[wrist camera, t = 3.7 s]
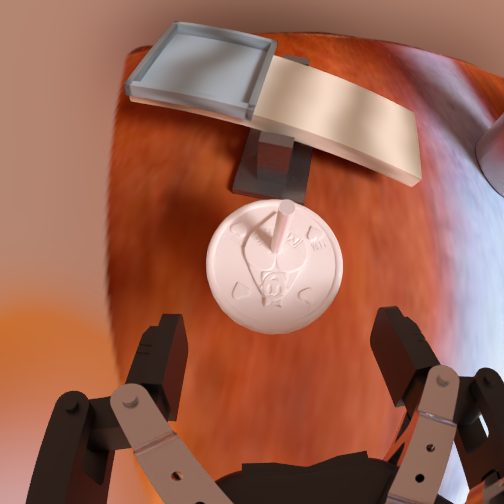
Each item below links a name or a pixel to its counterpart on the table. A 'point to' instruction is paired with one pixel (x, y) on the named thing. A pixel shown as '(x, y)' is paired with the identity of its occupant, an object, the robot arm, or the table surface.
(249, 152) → the pivot stand
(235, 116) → the balance beam
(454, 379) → the robot arm
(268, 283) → the smoothie
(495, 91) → the table surface
